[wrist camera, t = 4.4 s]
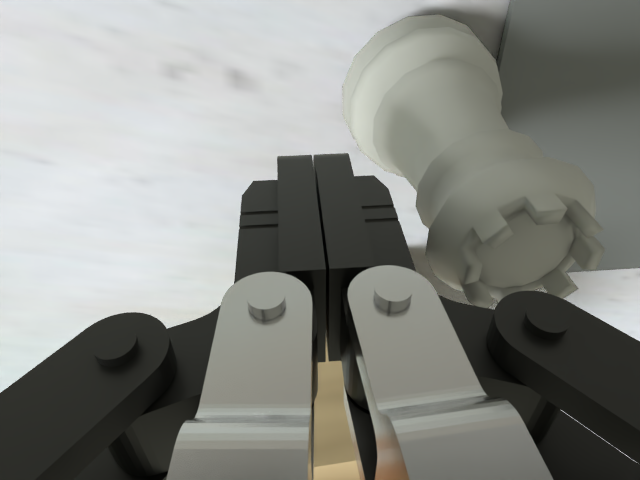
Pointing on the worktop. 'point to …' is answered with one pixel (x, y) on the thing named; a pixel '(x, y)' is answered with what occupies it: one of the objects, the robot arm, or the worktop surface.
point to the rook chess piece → (468, 163)
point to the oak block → (332, 427)
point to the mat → (581, 103)
